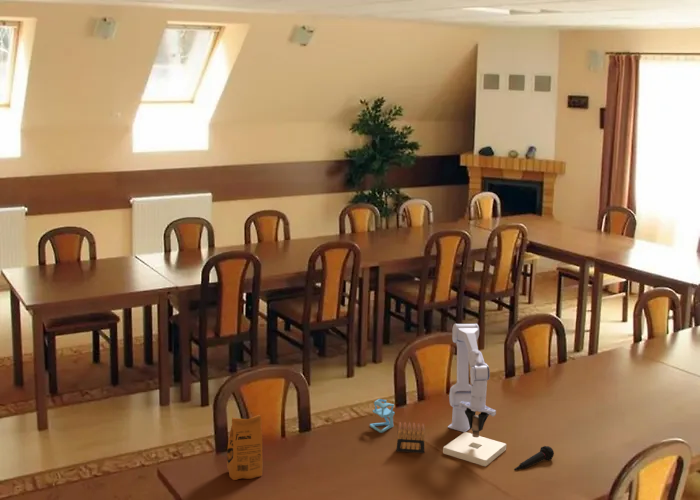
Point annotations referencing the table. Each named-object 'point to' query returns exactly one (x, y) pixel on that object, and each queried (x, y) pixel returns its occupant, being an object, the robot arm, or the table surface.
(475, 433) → the walnut peg
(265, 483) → the table surface
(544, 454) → the microphone
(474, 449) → the cream board
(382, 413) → the light blue bar frame
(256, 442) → the coffee package
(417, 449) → the ammunition clip
